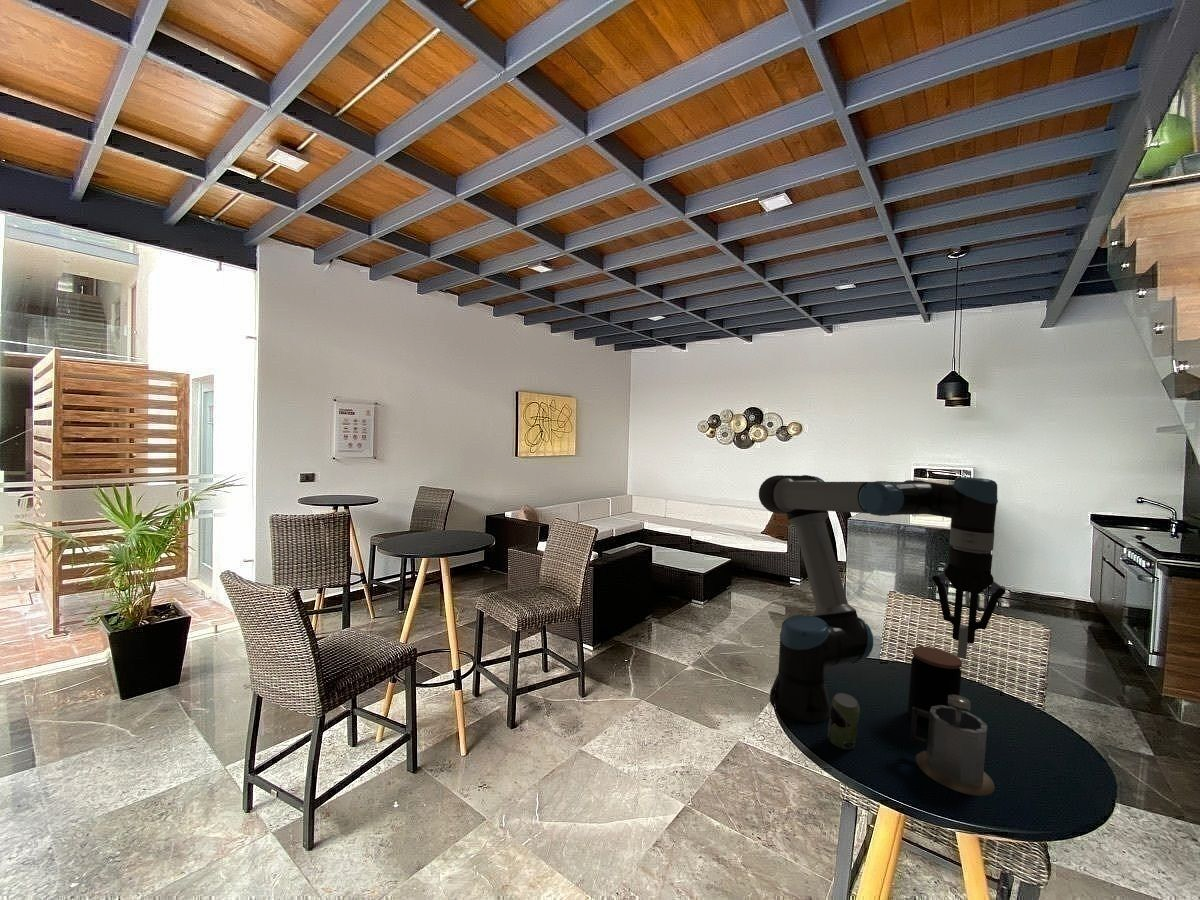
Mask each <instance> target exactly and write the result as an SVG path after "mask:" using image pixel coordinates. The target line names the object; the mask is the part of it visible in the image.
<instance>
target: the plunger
mask: <svg viewBox="0 0 1200 900" xmlns="http://www.w3.org/2000/svg"><path fill="white" fill-rule="evenodd" d="M948 704H949V705H950V706H952V707H953V708H956V713H955V725H954V726H957V727H960V723H961V710H962V711H967V712H969V711H971V705H972V703H971V701H970V700H969V699H968V698H966V697H965V696H963V695H960V696H958V695H948Z"/></svg>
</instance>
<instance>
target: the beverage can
mask: <svg viewBox="0 0 1200 900" xmlns="http://www.w3.org/2000/svg"><path fill="white" fill-rule="evenodd" d="M830 701H831V702H830V706H831V708H830V717H829V718H828V725H827V738H828V741H829V742H830V743H831V744H832V745H834V746H835V747H836V748H839V749H842V750H853V749H854V748H855V747H856V745H857V744H856V742H857V737H858V736H857V735H858V728H859V722H860V721H859V720H860V714H861V708H860V705H859V702H858V700H857V698H855V696H852V695H851V694H848V693H846V692H837V693H836V694H834V696H833V697H832V699H831V700H830Z"/></svg>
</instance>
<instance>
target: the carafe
mask: <svg viewBox="0 0 1200 900" xmlns="http://www.w3.org/2000/svg"><path fill="white" fill-rule="evenodd" d="M955 713H956V708H953V707H952V706H944V705H937V706H932V707H931V709H930V712H928V711H925V710H922V709H919V708H916V707H914V706H913V707H912V716H911V718H910V729H909V730H910V731H909V741H911V742H913V743H917V744H918V745H921V746H923V747H926V751H927V754H926V765H927V766H928V767H929V769H930V770H931V771H932V772H933V773H934V774H936V775H937V776H939V777H940V778H941V779H943V780H944V781H947V782H949V783H952V784H954V785H957V786H959V787H965V788H971V789H975V788H979V787H982V786H983V774H984V772H985V771H984V770H985V759H986V746H987V734H988V725H987V723H986V722H984V721H983V719H981V718H980V717H978V716H977V715H975V714H972V713H970V712H969V711H962V710H961V723H960V727H957V726H954V725H955ZM917 715H920V716H923V717H926V718H929V728H928V729H927V731H928V732H927V738H924V737H921V736H918V735H917V728H918V727H917V725H918V724H917Z"/></svg>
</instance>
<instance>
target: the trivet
mask: <svg viewBox="0 0 1200 900" xmlns="http://www.w3.org/2000/svg"><path fill="white" fill-rule="evenodd" d="M926 754H927V750H923V751H920V752H918V753H917V754H916V756H915V762H916V764H917V766H918V767H919V769H920V770H921V771H922V772H923V773H924V774H925V775H927V776H928V777H929V778H930V779H932V780H933V781H935V782H937V783H938V784H940V785H942V786H944V787H946V788H948V789H950V790H953V791H955V792H958V793H959V792H960V793H962V794H966V795H971V796H976V797H978V796H979V797H980V796H981V797H983V796H989V795H991V794H992V793H993V794H994V792H995V783H994V781H993V780H992V778H991V777H990V776H989V775H988V773H986V772H985V771H984V774H983V786H982V787H979V788H975V789H971V788H965V787H959V786H957V785H954V784H952V783H949V782H947V781H944V780H943V779H941V778H940V777H939V776H937V775H936V774H934V773H933V772H932V771H931V770H930V769H929V767H928V766H927V765H926Z"/></svg>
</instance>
